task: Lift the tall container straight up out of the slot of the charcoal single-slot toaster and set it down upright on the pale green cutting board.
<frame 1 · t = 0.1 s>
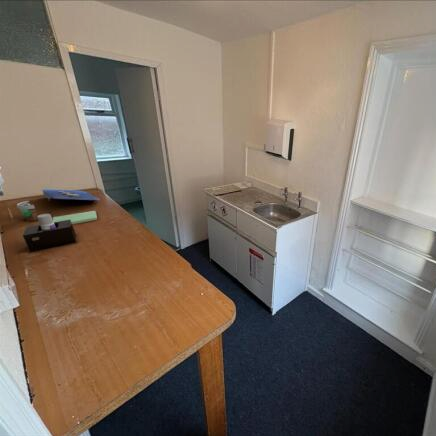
container: (55, 243, 117), resting in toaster
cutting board: (76, 219, 142), on the table
food container: (30, 219, 140), on the table
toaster: (55, 242, 117), on the table
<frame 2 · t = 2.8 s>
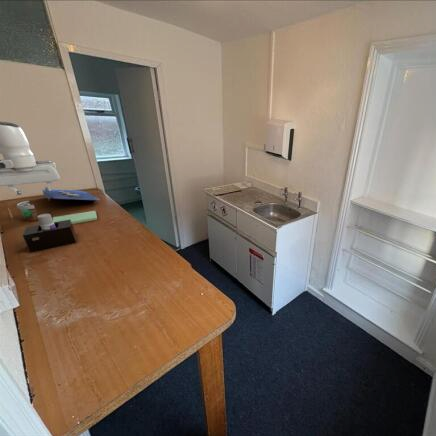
hand: (34, 192, 106), 26 cm above the table, tool pointing down, fingers open, 8 cm apart
nothing on the table moved.
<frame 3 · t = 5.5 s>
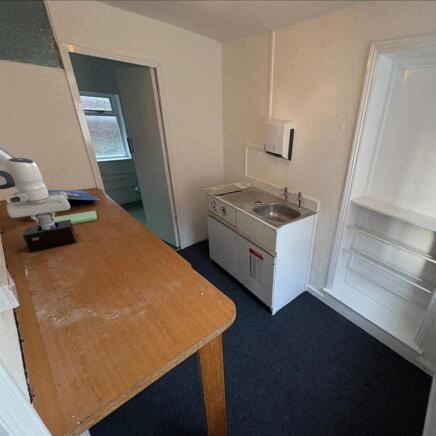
hand: (46, 221, 112), 12 cm above the table, tool pointing down, fingers closed on container, 3 cm apart
container: (55, 243, 117), resting in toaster, touching gripper
everything else where it was.
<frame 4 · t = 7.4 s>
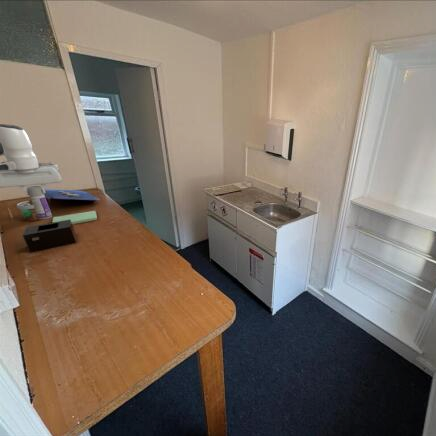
hand: (36, 194, 108), 25 cm above the table, tool pointing down, fingers closed on container, 3 cm apart
container: (45, 217, 112), point 13 cm above the table, touching gripper
everything else where it was.
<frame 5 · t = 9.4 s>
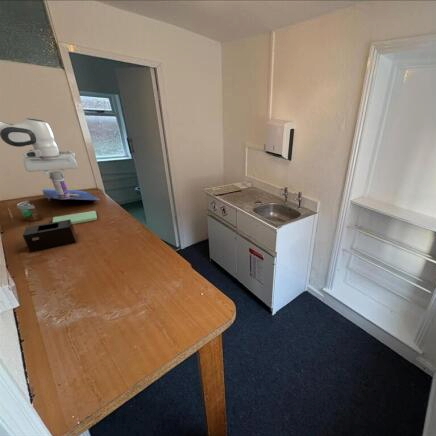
hand: (57, 178, 127), 27 cm above the table, tool pointing down, fingers closed on container, 3 cm apart
container: (64, 198, 132), point 15 cm above the table, touching gripper
everything else where it was.
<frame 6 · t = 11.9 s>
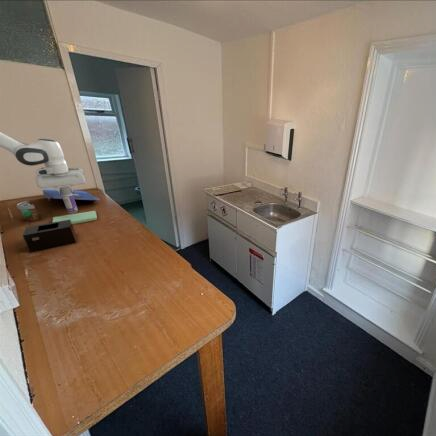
hand: (66, 192, 135), 17 cm above the table, tool pointing down, fingers closed on container, 3 cm apart
container: (73, 211, 140), point 5 cm above the table, touching gripper
everything else where it was.
when the fingers open (13 cm above the table, at t = 13.3 s): container stays where it is, point 1 cm above the table.
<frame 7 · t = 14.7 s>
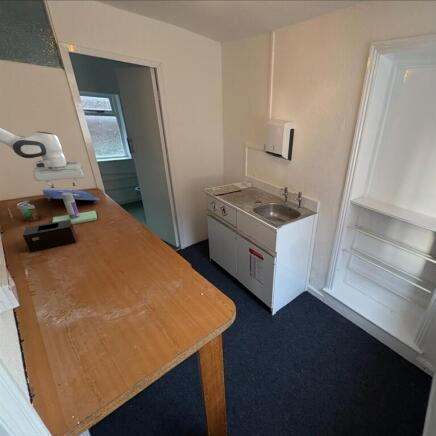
hand: (64, 186, 134), 21 cm above the table, tool pointing down, fingers open, 8 cm apart
container: (75, 217, 142), point 1 cm above the table
everything else where it was.
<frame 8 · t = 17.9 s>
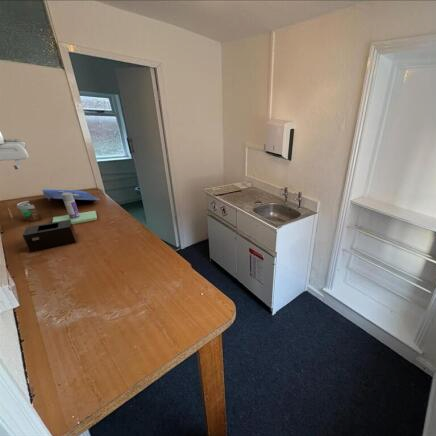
hand: (3, 170, 111), 34 cm above the table, tool pointing down, fingers open, 8 cm apart
container: (75, 217, 142), point 1 cm above the table, touching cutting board
everything else where it was.
at the end: container inside the target area on the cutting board (0.1 cm from its centre), point 1.3 cm above the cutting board's base; container tilted 0°; container touching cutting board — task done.
